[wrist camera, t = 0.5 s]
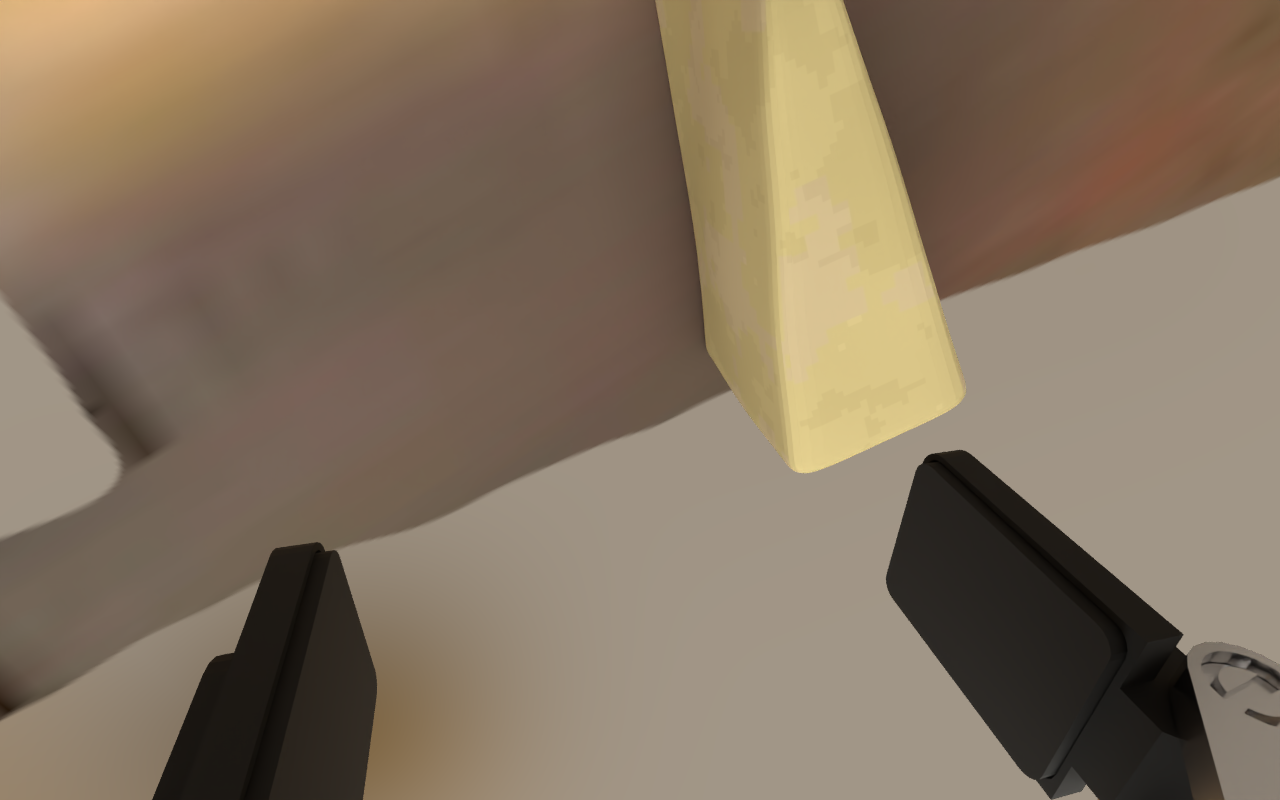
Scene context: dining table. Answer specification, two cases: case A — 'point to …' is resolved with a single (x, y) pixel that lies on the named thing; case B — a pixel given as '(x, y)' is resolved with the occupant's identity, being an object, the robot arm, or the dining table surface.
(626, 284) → the dining table surface
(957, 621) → the robot arm
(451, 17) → the dining table surface
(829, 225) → the cheese
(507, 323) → the dining table surface
